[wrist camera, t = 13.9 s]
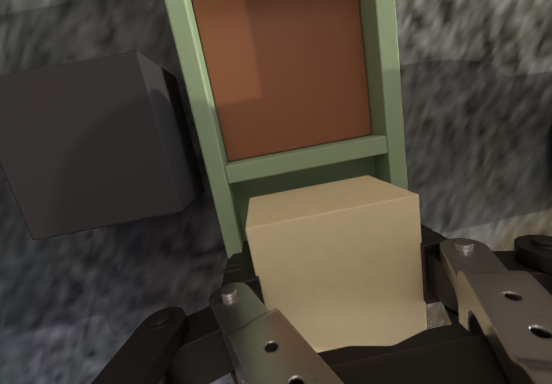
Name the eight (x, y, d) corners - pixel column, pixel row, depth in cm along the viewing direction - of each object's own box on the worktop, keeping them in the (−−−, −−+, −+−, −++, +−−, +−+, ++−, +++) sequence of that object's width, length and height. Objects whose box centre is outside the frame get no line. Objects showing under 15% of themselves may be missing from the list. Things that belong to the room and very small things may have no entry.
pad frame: (249, 311, 15) (247, 339, 13) (171, -14, 12) (151, -47, 9) (395, 281, 16) (417, 305, 13) (365, -48, 12) (389, -89, 10)
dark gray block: (96, 210, 14) (32, 241, 10) (56, 97, 12) (-37, 81, 8) (204, 189, 14) (182, 211, 10) (175, 75, 12) (137, 49, 9)
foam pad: (271, 302, 13) (277, 372, 9) (249, 197, 12) (244, 228, 8) (379, 281, 13) (428, 341, 10) (368, 174, 12) (419, 194, 8)
